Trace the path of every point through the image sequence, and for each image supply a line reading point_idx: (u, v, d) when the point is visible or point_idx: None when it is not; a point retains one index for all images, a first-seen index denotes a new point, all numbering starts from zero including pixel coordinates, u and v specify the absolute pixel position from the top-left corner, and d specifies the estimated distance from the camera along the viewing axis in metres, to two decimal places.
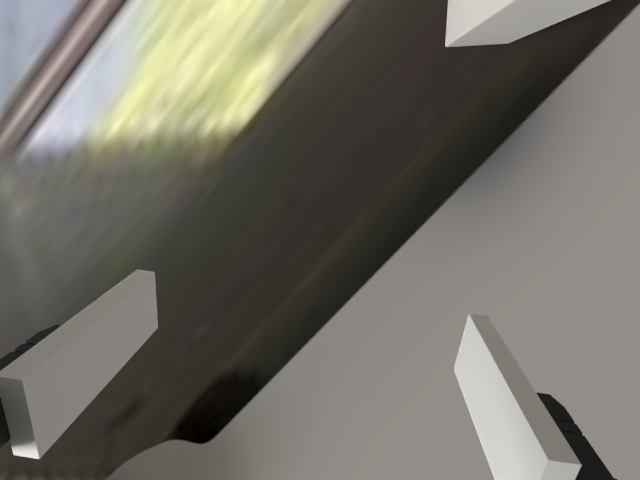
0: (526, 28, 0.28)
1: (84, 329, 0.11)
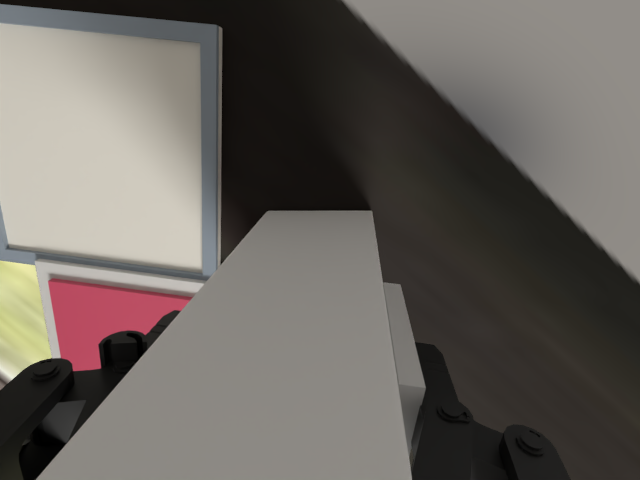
0: None
1: None
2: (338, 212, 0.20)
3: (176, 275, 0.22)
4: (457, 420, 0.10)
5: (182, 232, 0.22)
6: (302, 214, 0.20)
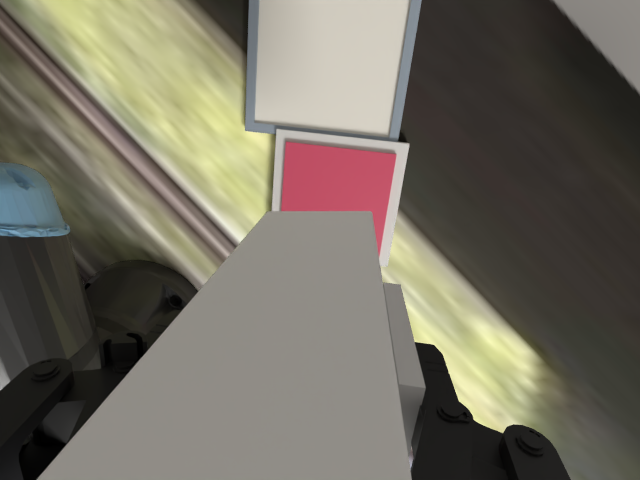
0: None
1: None
2: (338, 213, 0.20)
3: (371, 138, 0.34)
4: (457, 420, 0.10)
5: (378, 107, 0.33)
6: (302, 214, 0.20)
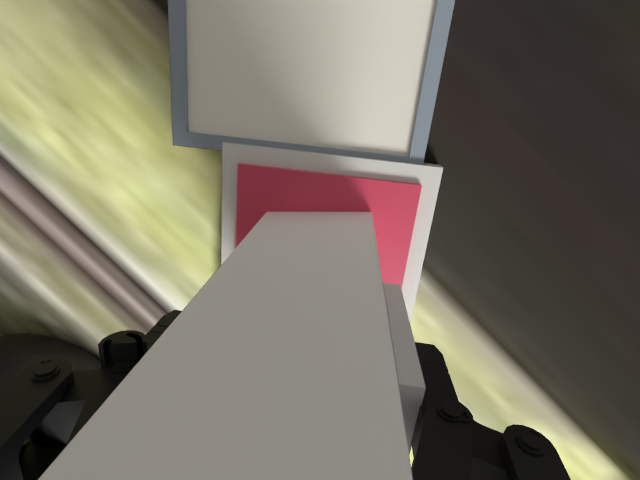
0: None
1: None
2: (338, 213, 0.20)
3: (378, 158, 0.20)
4: (457, 420, 0.10)
5: (392, 106, 0.20)
6: (301, 215, 0.20)
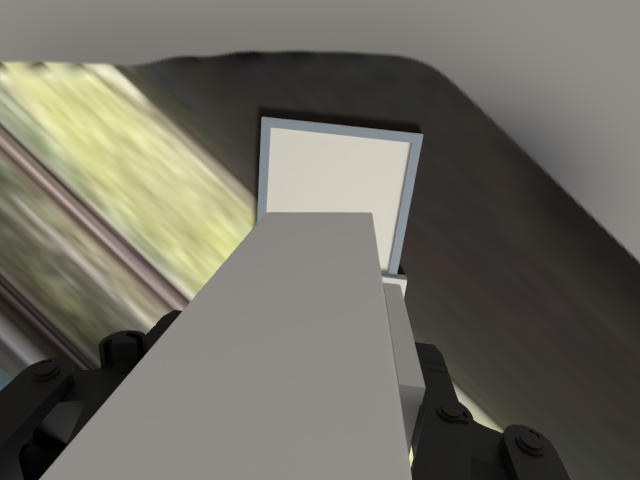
0: None
1: None
2: (338, 214, 0.20)
3: None
4: (457, 420, 0.10)
5: (379, 247, 0.36)
6: (301, 215, 0.20)
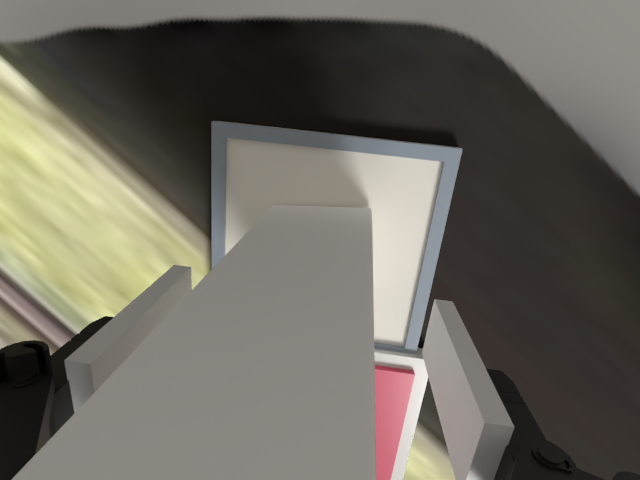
0: None
1: (137, 319, 0.12)
2: (340, 208, 0.21)
3: (380, 348, 0.25)
4: (557, 467, 0.09)
5: (390, 312, 0.24)
6: (305, 208, 0.21)
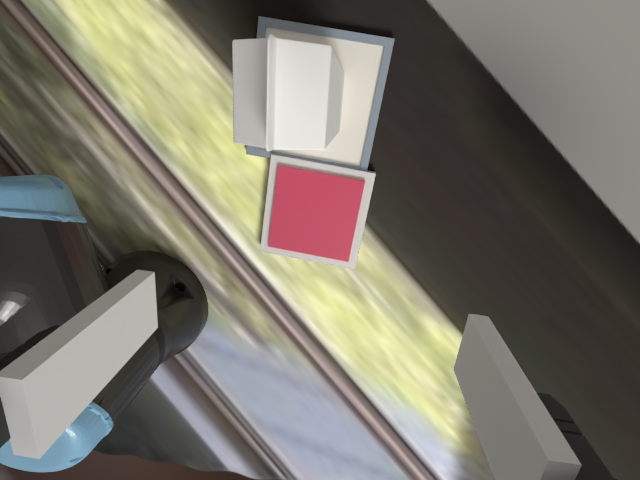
0: (339, 85, 0.32)
1: (84, 329, 0.11)
2: None
3: (346, 166, 0.42)
4: None
5: (353, 143, 0.41)
6: None
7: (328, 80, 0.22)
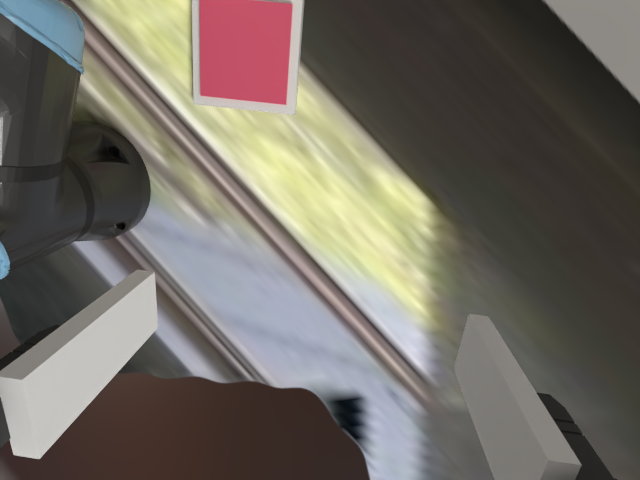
0: None
1: (84, 329, 0.11)
2: None
3: None
4: None
5: None
6: None
7: None
